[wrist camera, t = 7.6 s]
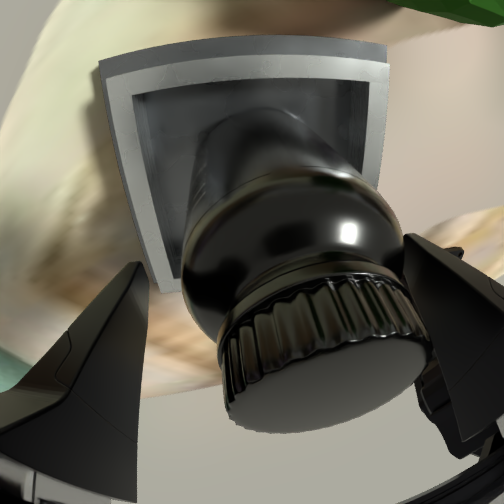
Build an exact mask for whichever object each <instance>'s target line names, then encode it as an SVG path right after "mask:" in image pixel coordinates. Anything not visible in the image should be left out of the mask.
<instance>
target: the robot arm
mask: <svg viewBox="0 0 504 504" xmlns="http://www.w3.org/2000/svg"><path fill="white" fill-rule="evenodd" d="M403 239H404V248H405V261H404V269H403V275H402V278H401V281H402V283H403V284H404V286H405V287H406V289H407V290H408V292H409V294H410V296H411V298H412V302H413V306H414V307H415V309H416V311H417V313H418V314H419V316H420V318H421V319H422V321H423V323H424V325H425V327H426V328H427V330H428V332H429V334H430V337H431V341H432V343H433V347H434V349H433V351H432V356H433V357H432V358H431V360H430V361H429V363H428V367H427V368H426V369H425V370H424V371H423V373H422V375H421V376H420V377H419V378H418V379H417V380H415V381H414V384H415V389H416V393H417V398H418V402H419V407H420V409H421V411H422V412H423V413H425V415H426V417H427V418H428V419H429V420H430V421H431V422H432V423H434V424H435V425H436V426H437V428H438V429H439V431H440V432H441V434H442V436H443V438H444V440H445V443H446V445H447V447H448V450H449V452H450V453H451V454H452V455H453V456H455V457H456V458H458V459H462V458H464V457H466V456H468V455H469V454H472V455H474V456H477V457H480V458H479V461H478V463H477V464H475V465H473V466H472V467H470V468H468V469H466V470H465V471H463V472H461V473H460V474H458V475H456V476H454V477H453V478H451V479H449V480H447V481H445V482H443V483H441V484H439V485H437V486H435V487H433V488H431V489H429V490H427V491H425V492H423V493H420V494H418V495H416V496H414V497H411V498H409V499H407V500H404V501H402V502H400V503H397V504H504V286H503V285H501V284H499V283H498V282H496V281H495V280H493V279H492V278H490V277H488V276H487V275H485V274H484V273H482V272H481V271H479V270H477V269H476V268H474V267H472V266H471V265H469V264H468V263H466V262H464V261H463V260H461V259H462V257H463V254H464V250H463V249H462V248H461V247H457V248H450V249H442V248H440V247H439V246H437V245H435V244H433V243H431V242H430V241H428V240H426V239H424V238H422V237H421V236H419V235H417V234H415V233H409V234H405V235H404V236H403ZM148 303H149V281H148V277H147V275H146V272H145V269H144V266H143V264H142V262H140V261H135V262H129V263H128V264H127V265H126V266H125V267H124V268H123V269H122V270H121V271H120V272H119V273H118V274H117V275H116V276H115V277H114V278H113V279H112V280H111V281H110V283H109V284H108V285H107V286H106V287H105V288H104V289H103V290H102V291H101V292H100V293H99V294H98V295H97V296H96V298H95V299H94V300H93V301H92V302H91V303H90V304H89V305H88V306H87V307H86V308H85V310H84V311H83V312H82V313H81V314H80V315H79V316H78V317H77V319H76V320H75V321H74V322H73V323H72V324H71V325H70V327H69V328H68V331H67V330H66V331H65V332H64V333H63V335H62V336H61V337H60V338H59V339H58V340H57V342H56V343H55V344H54V345H53V346H52V347H51V348H50V349H49V351H48V352H47V353H46V354H45V355H44V356H43V357H42V358H41V359H40V360H39V361H38V362H37V363H36V364H35V365H34V366H33V367H32V368H31V369H30V371H29V372H28V373H27V374H26V375H25V376H24V377H23V378H22V379H21V380H20V381H19V382H18V383H17V384H16V385H15V386H14V387H12V388H11V389H9V390H7V391H4V392H1V393H0V504H111V499H113V500H118V501H125V502H132V503H137V442H138V441H137V440H138V421H139V406H140V393H141V382H142V371H143V362H144V353H145V345H146V337H147V329H148Z"/></svg>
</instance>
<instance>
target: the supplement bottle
mask: <svg viewBox="0 0 504 504" xmlns="http://www.w3.org/2000/svg"><path fill="white" fill-rule="evenodd" d="M404 261H405V248H404V239H403V234H402V230H401V227H400V224H399V221H398V219H397V217H396V215H395V214H394V212H393V210H392V209H391V207H390V206H389V205H388V203H387V202H386V201H385V200H384V198H383V197H382V196H381V195H380V194H379V193H378V191H377V190H376V189H375V188H374V187H373V186H372V185H371V184H370V183H369V182H368V181H367V180H366V179H365V178H364V177H363V176H362V175H361V174H360V173H359V172H358V171H357V170H356V169H355V168H353V167H352V166H351V165H350V164H349V163H348V162H347V161H346V160H345V159H344V158H343V157H342V156H341V155H340V154H339V153H338V152H336V151H335V150H334V149H333V148H332V147H331V146H330V145H329V144H328V143H327V142H325V141H324V140H323V139H322V138H321V137H320V136H319V135H317V134H316V133H315V132H314V131H313V130H312V129H310V128H309V127H308V126H307V125H305V124H304V123H303V122H301V121H300V120H298V119H296V118H294V117H292V116H290V115H288V114H285V113H282V112H278V111H272V110H253V111H247V112H243V113H240V114H237V115H234V116H232V117H230V118H228V119H226V120H225V121H223V122H222V123H220V124H219V125H217V126H216V127H215V128H214V129H213V130H212V131H211V132H210V133H209V134H208V135H207V136H206V138H205V139H204V141H203V142H202V144H201V145H200V147H199V150H198V152H197V154H196V157H195V160H194V164H193V169H192V175H191V181H190V189H189V196H188V204H187V212H186V220H185V229H184V238H183V247H182V257H181V288H182V294H183V298H184V301H185V304H186V306H187V309H188V311H189V313H190V315H191V316H192V318H193V320H194V321H195V323H196V324H197V325H198V326H199V328H200V329H201V330H202V331H203V332H204V333H205V334H206V335H207V336H208V337H209V338H210V339H211V340H212V341H214V342H215V343H216V344H217V358H218V364H219V367H220V369H221V371H222V382H223V394H224V403H225V408H226V411H227V413H228V415H229V419H231V420H233V421H235V423H236V425H239V426H243V427H244V428H245V429H248V430H254V431H256V432H266V433H270V434H271V433H283V434H286V433H300V432H305V431H312V430H317V429H321V428H326V427H330V426H334V425H336V424H340V423H344V422H347V421H349V420H352V419H354V418H357V417H360V416H362V415H364V414H366V413H368V412H370V411H373V410H375V409H377V408H378V407H380V406H382V405H384V404H385V403H387V402H389V401H390V400H392V399H393V398H395V397H396V396H398V395H399V394H401V393H402V392H403V391H404V390H405V389H407V388H408V387H409V386H411V385H412V384H413V383H414V381H415V380H417V379H418V378H419V377H420V376H421V375H422V373H423V371H424V370H425V369H426V368H427V367H428V363H429V361H430V360H431V358H432V357H433V356H432V351H433V349H434V347H433V343H432V341H431V337H430V334H429V332H428V330H427V328H426V327H425V325H424V323H423V321H422V319H421V318H420V316H419V314H418V313H417V311H416V309H415V307H414V306H413V302H412V298H411V296H410V294H409V292H408V290H407V289H406V287H405V286H404V284H403V283H402V281H401V278H402V275H403V269H404Z"/></svg>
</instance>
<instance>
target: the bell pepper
mask: <svg viewBox="0 0 504 504" xmlns="http://www.w3.org/2000/svg"><path fill="white" fill-rule="evenodd" d="M387 1H388V2H391V3H394V4H397V5H399V6H403V7H406V8H410V9H414V10H417V11H421V12H425V13H429V14H433V15H437V16H440V17H444V18H447V19H451V20H454V21H457V22H460V23H467V24H474V25H481V26H487V27H495V26H500V25H504V0H387Z"/></svg>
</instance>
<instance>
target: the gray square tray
mask: <svg viewBox="0 0 504 504" xmlns="http://www.w3.org/2000/svg"><path fill="white" fill-rule="evenodd" d="M99 69H100V76H101V82H102V88H103V94H104V100H105V105H106V111H107V116H108V121H109V126H110V131H111V136H112V140H113V145H114V149H115V153H116V158H117V162H118V166H119V170H120V174H121V178H122V182H123V185H124V189H125V193H126V197H127V200H128V204H129V207H130V211H131V214H132V217H133V221H134V224H135V227H136V231H137V234H138V237H139V240H140V243H141V246H142V250H143V253H144V256H145V259H146V262H147V264H148V267H149V270H150V273H151V276H152V279H153V282H154V283H158V286H159V288H160V291H161V293H169V292H180V291H182V288H181V257H182V247H183V238H184V229H185V220H186V212H187V204H188V196H189V189H190V181H191V175H192V169H193V164H194V160H195V157H196V154H197V152H198V150H199V147H200V145H201V144H202V142H203V141H204V139H205V138H206V136H207V135H208V134H209V133H210V132H211V131H212V130H213V129H214V128H215V127H216V126H217V125H219V124H220V123H222V122H223V121H225V120H226V119H228V118H230V117H232V116H234V115H237V114H240V113H243V112H247V111H253V110H272V111H278V112H282V113H285V114H288V115H290V116H292V117H294V118H296V119H298V120H300V121H301V122H303V123H304V124H305V125H307V126H308V127H309V128H310V129H312V130H313V131H314V132H315V133H316V134H317V135H319V136H320V137H321V138H322V139H323V140H324V141H325V142H327V143H328V144H329V145H330V146H331V147H332V148H333V149H334V150H335V151H336V152H338V153H339V154H340V155H341V156H342V157H343V158H344V159H345V160H346V161H347V162H348V163H349V164H350V165H351V166H352V167H353V168H355V169H356V170H357V171H358V172H359V173H360V174H361V175H362V176H363V177H364V178H365V179H366V180H367V181H368V182H369V183H370V184H371V185H372V186H373V187H374V188H375V189H376V190H377V186H378V180H379V174H380V167H381V160H382V152H383V143H384V135H385V126H386V116H387V115H386V114H387V104H388V90H389V70H390V64H388V63H387V45H382V44H376V43H370V42H364V41H357V40H349V39H341V38H331V37H318V36H301V35H249V36H232V37H219V38H209V39H201V40H193V41H186V42H179V43H173V44H167V45H162V46H157V47H152V48H147V49H142V50H138V51H134V52H130V53H126V54H122V55H118V56H114V57H111V58H107V59H104V60H100V61H99Z"/></svg>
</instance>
